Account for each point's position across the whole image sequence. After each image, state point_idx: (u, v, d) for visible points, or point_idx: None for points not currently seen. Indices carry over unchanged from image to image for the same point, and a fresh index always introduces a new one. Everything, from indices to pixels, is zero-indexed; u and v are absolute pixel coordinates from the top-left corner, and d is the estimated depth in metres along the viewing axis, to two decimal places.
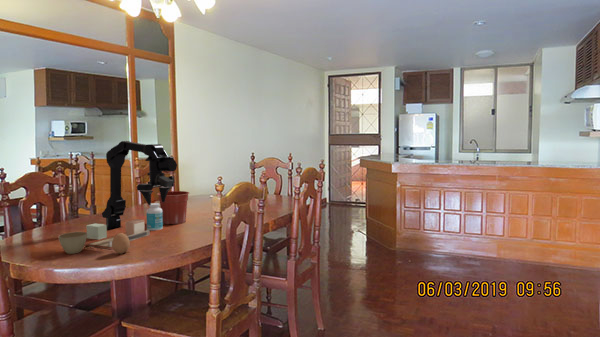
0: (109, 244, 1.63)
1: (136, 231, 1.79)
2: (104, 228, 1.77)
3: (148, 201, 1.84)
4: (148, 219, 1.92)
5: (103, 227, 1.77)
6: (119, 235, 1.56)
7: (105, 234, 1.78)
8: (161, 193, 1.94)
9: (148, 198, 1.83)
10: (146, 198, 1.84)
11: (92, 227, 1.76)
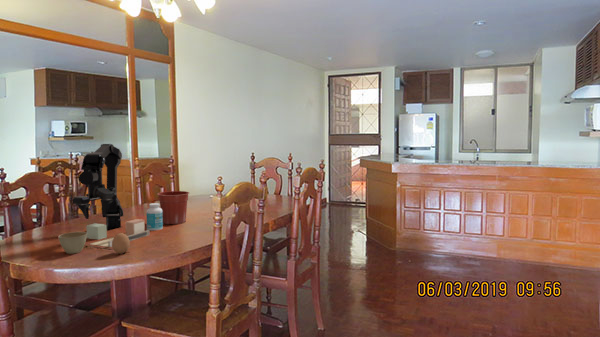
0: (109, 244, 1.63)
1: (136, 231, 1.79)
2: (104, 228, 1.77)
3: (85, 215, 1.72)
4: (148, 219, 1.92)
5: (103, 227, 1.77)
6: (119, 235, 1.56)
7: (105, 234, 1.78)
8: (103, 206, 1.82)
9: (85, 212, 1.72)
10: (83, 212, 1.72)
11: (92, 227, 1.76)
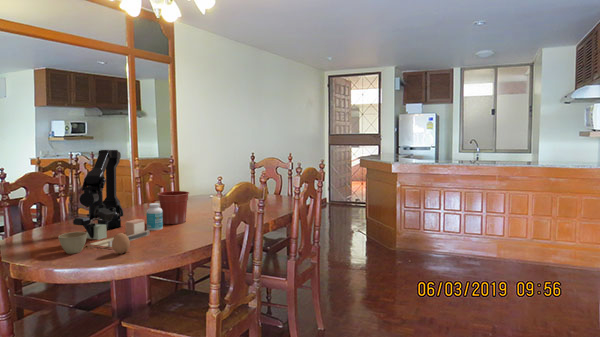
0: (109, 244, 1.63)
1: (136, 231, 1.79)
2: (104, 228, 1.77)
3: (90, 234, 1.75)
4: (148, 219, 1.92)
5: (103, 227, 1.77)
6: (119, 235, 1.56)
7: (105, 234, 1.78)
8: None
9: (90, 231, 1.74)
10: (88, 231, 1.75)
11: None
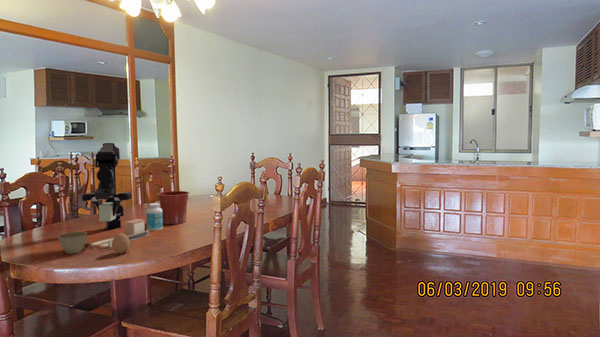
0: (109, 244, 1.63)
1: (136, 231, 1.79)
2: (107, 208, 1.69)
3: None
4: (148, 219, 1.92)
5: (106, 207, 1.69)
6: (119, 235, 1.56)
7: (108, 214, 1.69)
8: None
9: None
10: None
11: None
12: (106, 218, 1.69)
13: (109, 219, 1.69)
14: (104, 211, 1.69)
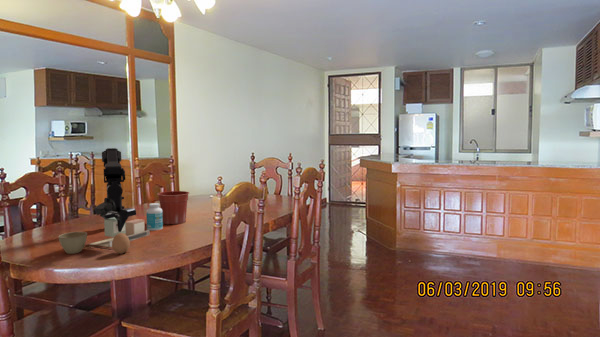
0: (109, 244, 1.63)
1: (136, 231, 1.79)
2: (110, 223, 1.67)
3: None
4: (148, 219, 1.92)
5: (109, 222, 1.67)
6: (119, 235, 1.56)
7: (111, 230, 1.67)
8: None
9: None
10: None
11: None
12: (109, 233, 1.67)
13: (111, 235, 1.67)
14: (108, 226, 1.67)
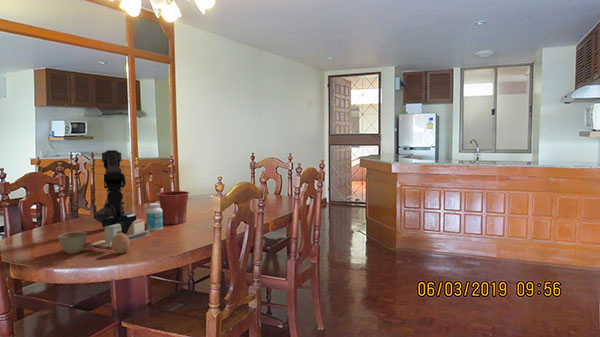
0: (109, 244, 1.63)
1: (136, 231, 1.79)
2: (110, 231, 1.67)
3: None
4: (148, 219, 1.92)
5: (109, 229, 1.67)
6: (119, 235, 1.56)
7: (111, 237, 1.67)
8: None
9: None
10: None
11: None
12: None
13: None
14: (108, 233, 1.68)
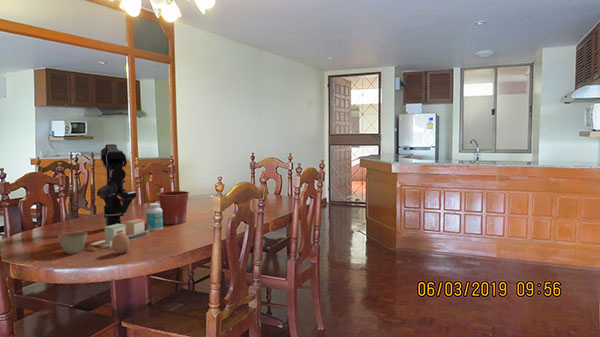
0: (109, 244, 1.63)
1: (136, 231, 1.79)
2: (110, 231, 1.67)
3: None
4: (148, 219, 1.92)
5: (109, 229, 1.67)
6: (119, 235, 1.56)
7: (111, 237, 1.67)
8: None
9: None
10: None
11: None
12: None
13: None
14: (108, 233, 1.68)
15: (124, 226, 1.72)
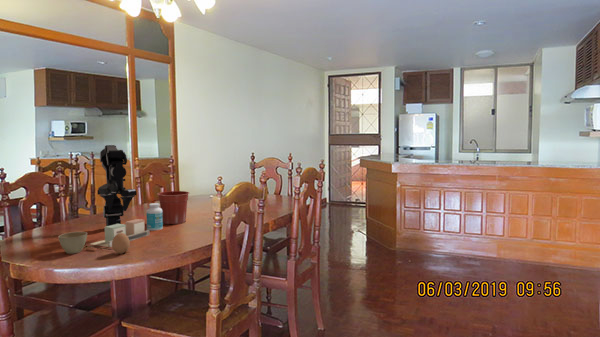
0: (109, 244, 1.63)
1: (136, 231, 1.79)
2: (110, 231, 1.67)
3: None
4: (148, 219, 1.92)
5: (109, 229, 1.67)
6: (119, 235, 1.56)
7: (111, 237, 1.67)
8: None
9: None
10: None
11: None
12: None
13: None
14: (108, 233, 1.68)
15: (124, 226, 1.72)
